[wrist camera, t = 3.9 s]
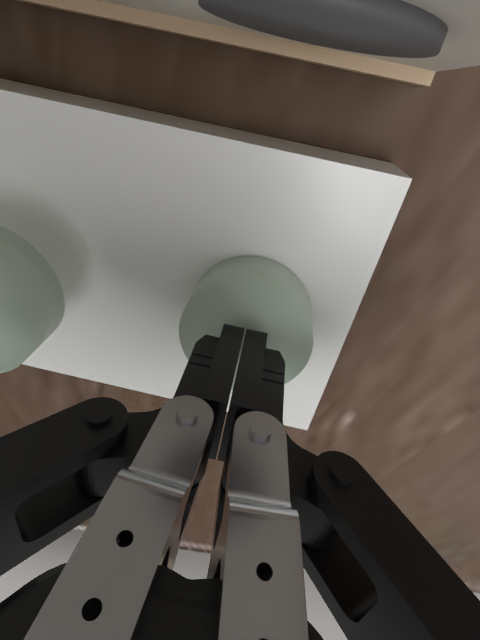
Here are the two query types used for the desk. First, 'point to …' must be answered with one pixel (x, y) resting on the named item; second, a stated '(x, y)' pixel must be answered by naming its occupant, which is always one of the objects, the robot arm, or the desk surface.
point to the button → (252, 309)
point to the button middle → (25, 300)
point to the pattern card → (316, 30)
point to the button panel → (181, 229)
